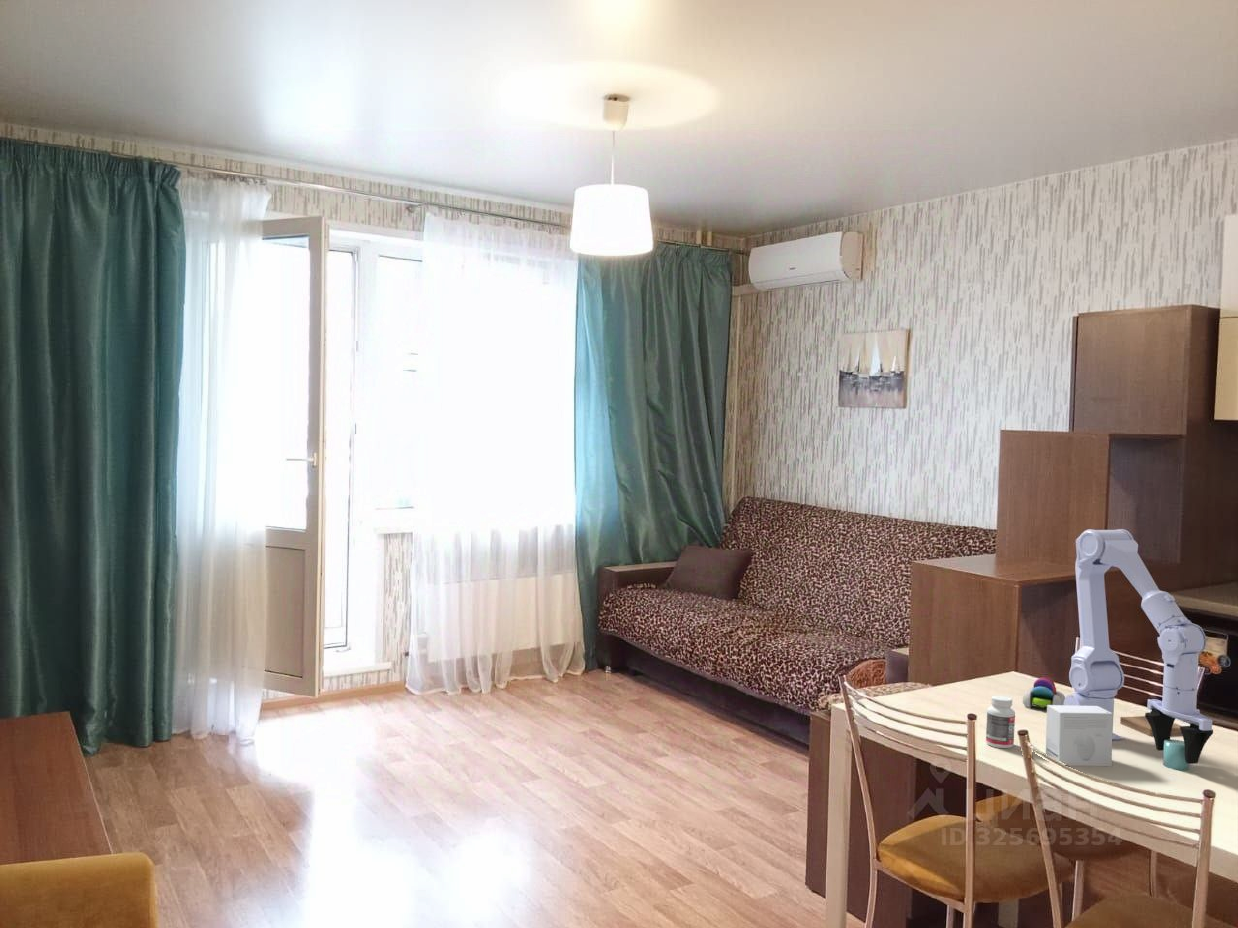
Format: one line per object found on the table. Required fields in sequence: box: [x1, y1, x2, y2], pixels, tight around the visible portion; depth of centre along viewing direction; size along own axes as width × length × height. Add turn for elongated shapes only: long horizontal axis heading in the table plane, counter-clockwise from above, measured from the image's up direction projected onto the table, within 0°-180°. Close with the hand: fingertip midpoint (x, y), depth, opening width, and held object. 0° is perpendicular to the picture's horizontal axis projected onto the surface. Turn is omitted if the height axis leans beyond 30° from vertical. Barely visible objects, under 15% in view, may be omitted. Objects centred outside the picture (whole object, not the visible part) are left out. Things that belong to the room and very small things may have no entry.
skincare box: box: [1045, 705, 1114, 767], centre depth 194 cm, size 10×6×10 cm, turn 91°
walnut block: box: [1119, 715, 1183, 737], centre depth 215 cm, size 9×9×2 cm
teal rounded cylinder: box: [1162, 738, 1190, 771], centre depth 191 cm, size 4×4×5 cm
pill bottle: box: [985, 695, 1016, 749], centre depth 203 cm, size 5×5×10 cm
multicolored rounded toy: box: [1022, 676, 1066, 709], centre depth 232 cm, size 8×10×7 cm
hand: (1176, 756), depth 191 cm, fingers open, 7 cm apart
